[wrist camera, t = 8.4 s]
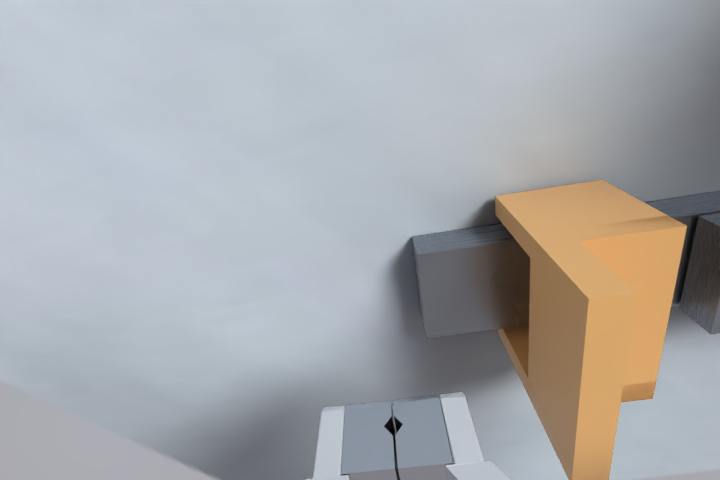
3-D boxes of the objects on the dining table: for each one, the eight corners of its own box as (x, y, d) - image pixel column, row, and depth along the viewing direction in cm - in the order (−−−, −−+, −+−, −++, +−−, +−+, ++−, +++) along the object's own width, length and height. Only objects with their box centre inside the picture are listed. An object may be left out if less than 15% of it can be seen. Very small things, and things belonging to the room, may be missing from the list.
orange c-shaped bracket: (498, 333, 14) (571, 484, 9) (495, 196, 12) (589, 298, 7) (588, 321, 14) (712, 470, 9) (602, 179, 11) (775, 273, 7)
